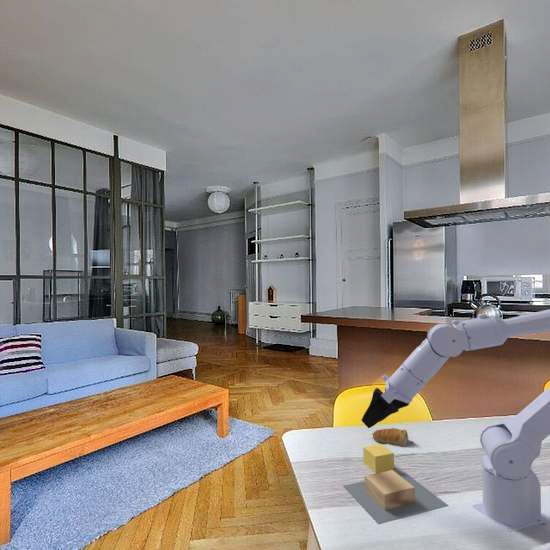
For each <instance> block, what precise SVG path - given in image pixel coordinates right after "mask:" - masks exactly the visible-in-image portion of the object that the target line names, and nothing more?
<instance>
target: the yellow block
mask: <svg viewBox="0 0 550 550" xmlns="http://www.w3.org/2000/svg"><path fill="white" fill-rule="evenodd" d="M362 449H363V464H364V465H366V467H368V468H369V469H370V470H371V471H372V472H373V473H374V474H376V473H381V472H385V471H390V470H393V471H394V470H395V452H393V451H391V449H389V448H387V446H385V445H384V444H383V443H379V444H374V445H369V446H363V447H362Z"/></svg>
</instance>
